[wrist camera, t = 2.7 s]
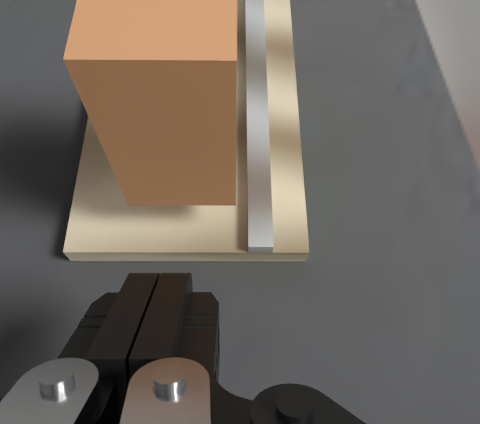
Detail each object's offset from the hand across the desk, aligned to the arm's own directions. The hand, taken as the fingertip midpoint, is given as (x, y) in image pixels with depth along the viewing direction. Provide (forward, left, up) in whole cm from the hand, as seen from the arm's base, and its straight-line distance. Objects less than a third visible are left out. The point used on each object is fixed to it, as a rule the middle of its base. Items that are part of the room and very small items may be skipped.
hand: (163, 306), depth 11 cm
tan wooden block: (-4, +6, -6) cm, 9 cm away
